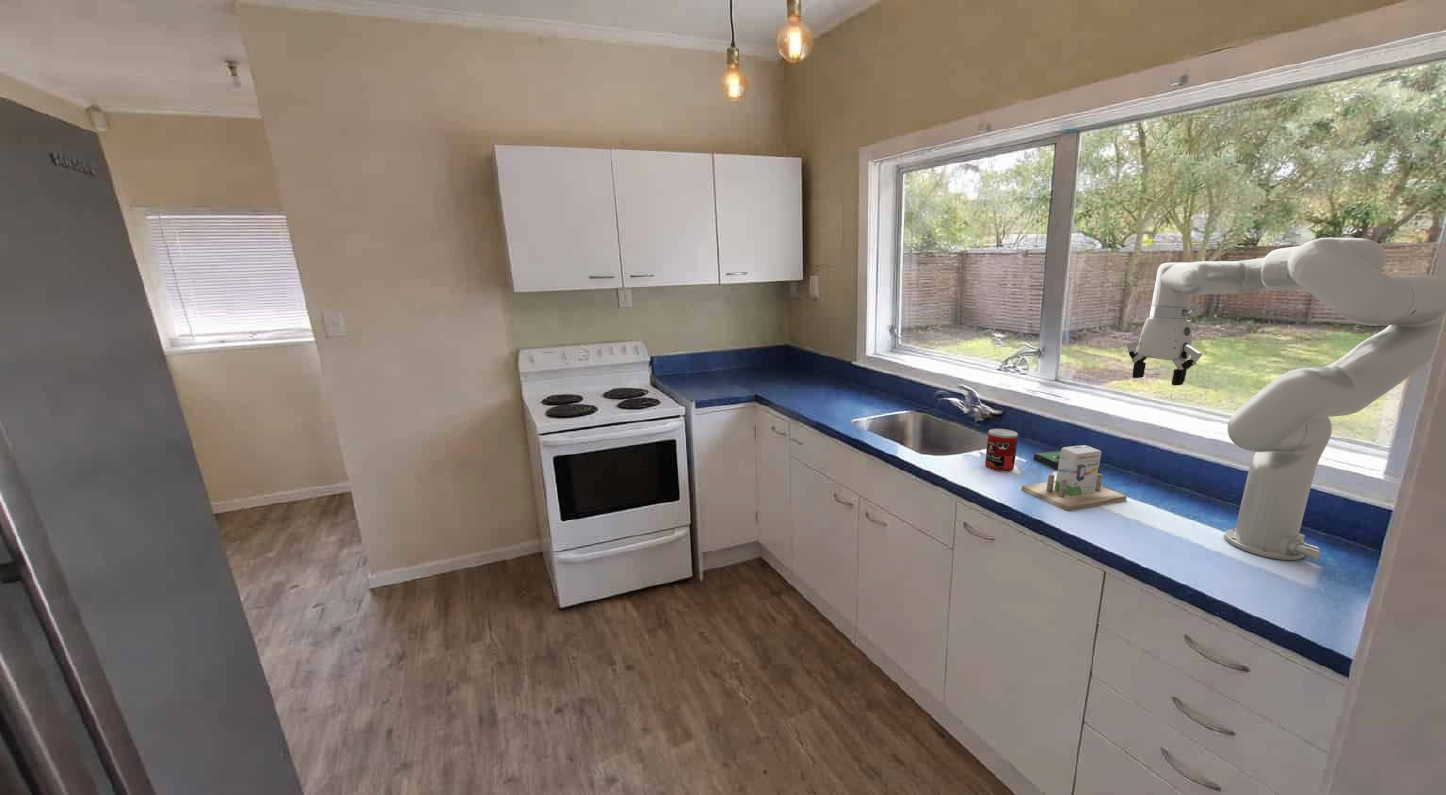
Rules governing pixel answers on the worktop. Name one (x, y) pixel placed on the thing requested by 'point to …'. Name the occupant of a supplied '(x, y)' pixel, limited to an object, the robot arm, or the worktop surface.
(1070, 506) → the pin tray
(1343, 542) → the worktop surface
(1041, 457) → the disk drive
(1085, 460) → the ink box
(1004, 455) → the canned food
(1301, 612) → the worktop surface
